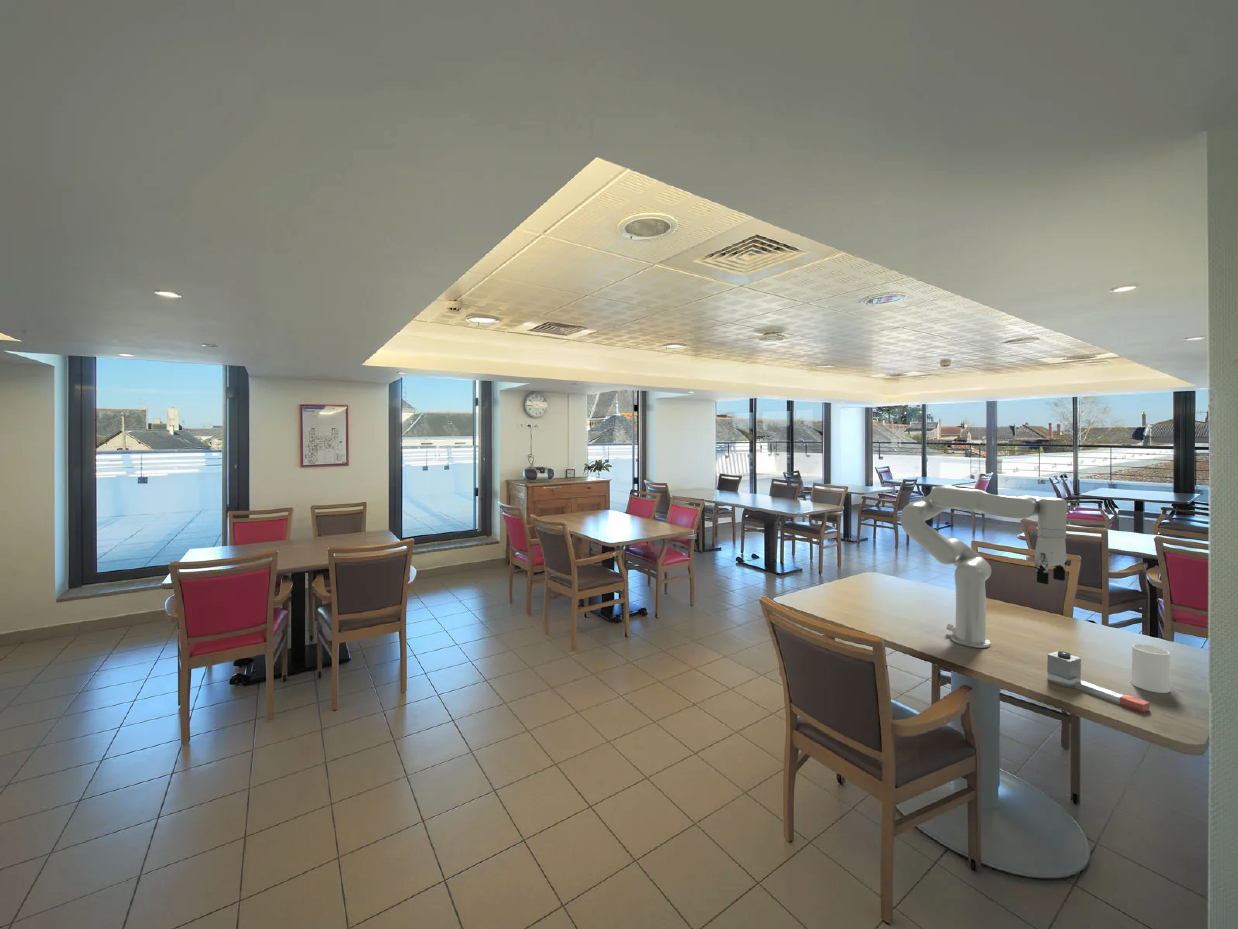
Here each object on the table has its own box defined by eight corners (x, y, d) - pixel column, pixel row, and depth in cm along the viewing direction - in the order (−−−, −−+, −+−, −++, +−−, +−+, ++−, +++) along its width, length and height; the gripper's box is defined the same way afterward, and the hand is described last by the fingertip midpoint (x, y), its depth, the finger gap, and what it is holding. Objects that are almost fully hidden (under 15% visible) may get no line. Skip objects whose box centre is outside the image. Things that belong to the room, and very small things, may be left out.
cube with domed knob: (1047, 672, 162) (1047, 651, 162) (1058, 668, 164) (1058, 648, 164) (1069, 680, 156) (1070, 658, 156) (1080, 676, 159) (1081, 655, 158)
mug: (1154, 678, 162) (1155, 642, 161) (1187, 691, 153) (1188, 653, 153) (1122, 681, 160) (1123, 644, 160) (1153, 694, 152) (1154, 655, 151)
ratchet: (1041, 679, 162) (1042, 659, 162) (1056, 674, 166) (1056, 655, 165) (1138, 715, 141) (1139, 692, 140) (1153, 708, 144) (1153, 686, 144)
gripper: (1053, 529, 181) (1052, 576, 181) (1024, 533, 174) (1023, 581, 175) (1079, 532, 174) (1078, 581, 174) (1049, 537, 167) (1048, 587, 168)
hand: (1050, 581), depth 175 cm, fingers open, 9 cm apart
